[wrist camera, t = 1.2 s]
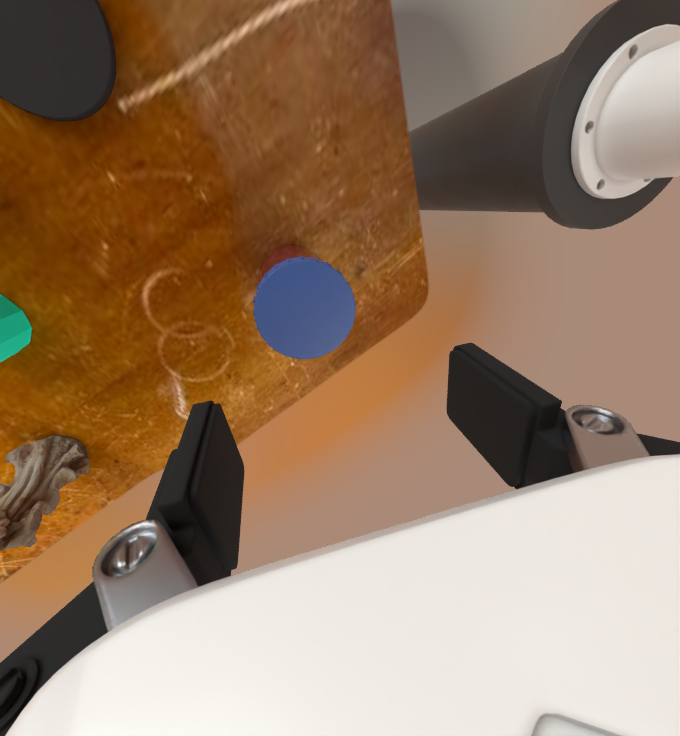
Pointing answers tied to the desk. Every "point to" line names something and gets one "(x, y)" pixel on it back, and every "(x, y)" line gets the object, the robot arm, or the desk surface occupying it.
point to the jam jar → (283, 257)
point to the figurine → (37, 486)
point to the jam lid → (304, 308)
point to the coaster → (56, 57)
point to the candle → (12, 329)
